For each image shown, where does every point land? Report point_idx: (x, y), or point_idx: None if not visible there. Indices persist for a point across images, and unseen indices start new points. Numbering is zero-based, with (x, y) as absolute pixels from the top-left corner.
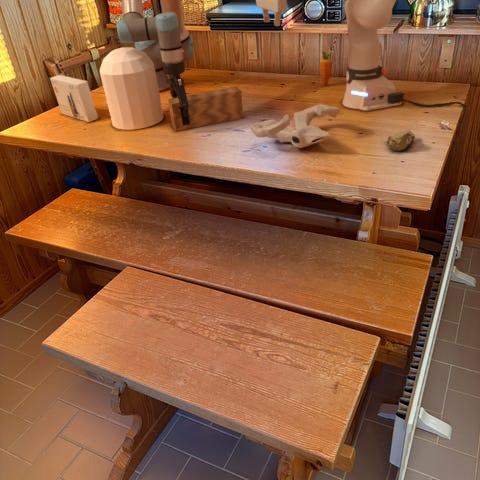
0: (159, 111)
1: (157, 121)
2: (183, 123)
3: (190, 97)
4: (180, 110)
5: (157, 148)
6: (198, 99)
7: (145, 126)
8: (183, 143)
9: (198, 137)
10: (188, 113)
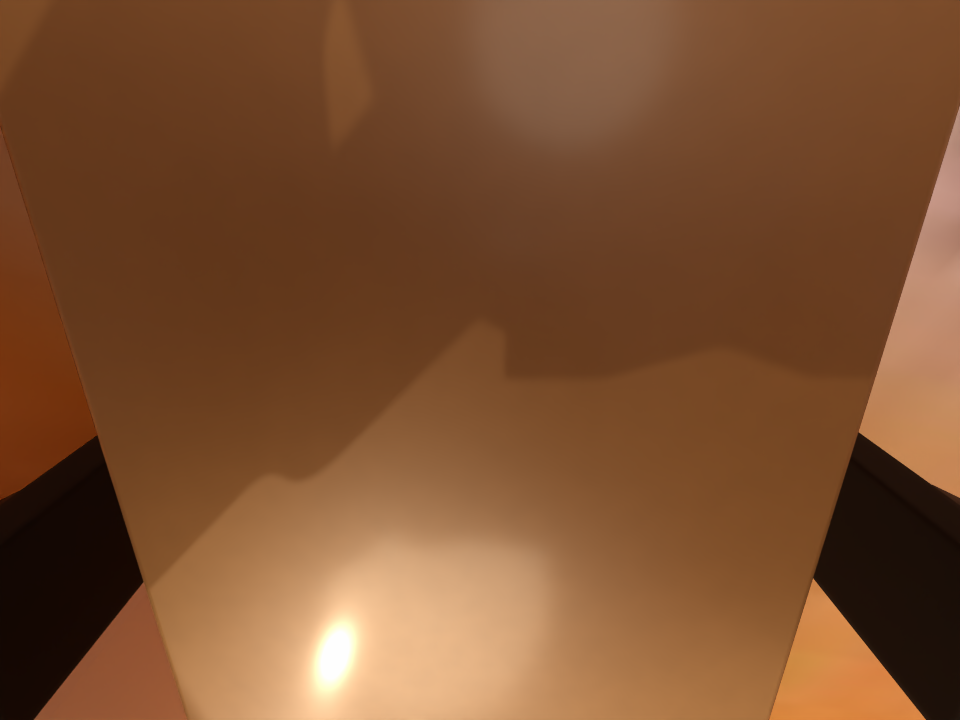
0: None
1: None
2: None
3: (465, 404)
4: (912, 685)
5: (865, 678)
6: (942, 88)
7: None
8: (956, 481)
9: (941, 298)
10: (925, 483)
